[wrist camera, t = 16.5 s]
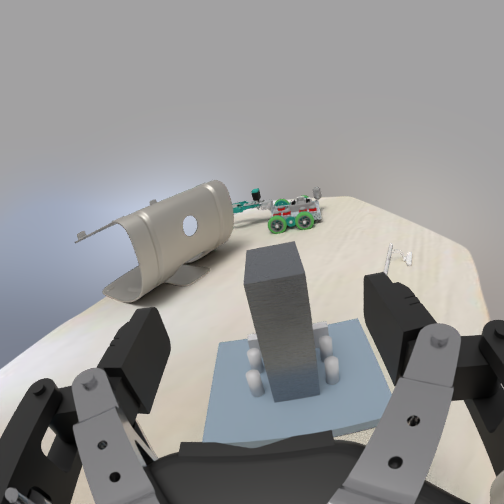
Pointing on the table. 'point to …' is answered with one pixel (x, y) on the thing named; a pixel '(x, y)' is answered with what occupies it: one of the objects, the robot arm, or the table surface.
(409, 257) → the picture light
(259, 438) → the pin tray
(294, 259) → the dark grey rectangular block
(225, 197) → the curved metal cover
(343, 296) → the table surface
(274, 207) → the robot kit
